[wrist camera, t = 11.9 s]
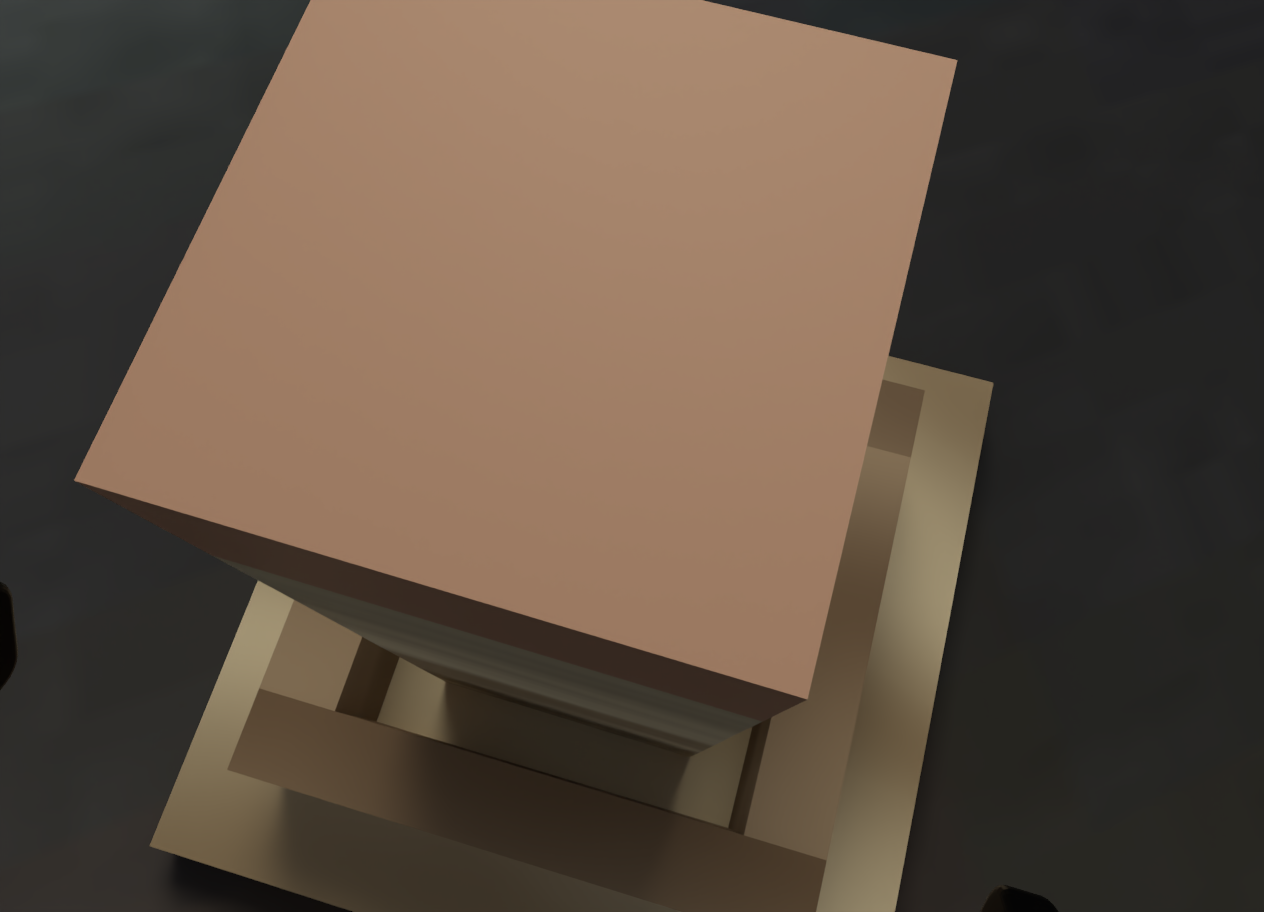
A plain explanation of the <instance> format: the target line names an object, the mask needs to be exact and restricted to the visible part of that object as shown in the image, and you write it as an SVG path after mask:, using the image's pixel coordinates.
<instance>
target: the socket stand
mask: <svg viewBox="0 0 1264 912" xmlns="http://www.w3.org/2000/svg"><path fill="white" fill-rule="evenodd" d="M992 387H993V383H992V382H988V381H984V380H980V379H976V378H972V377H968V376H965V375H961V374H957V373H953V372H949V371H945V370H941V369H937V368H933V367H929V366H925V365H922V364H918V363H914V362H910V361H906V360H902V359H898V358H894V357H890V356H888V358H887V363H886V367H885V371H884V375H883V380H882V384H881V388H880V392H879V397H878V401H877V405H876V409H875V414H874V418H873V422H872V427H871V431H870V435H869V439H868V444H867V448H866V452H865V456H864V461H863V465H862V469H861V473H860V478H859V482H858V486H857V491H856V495H855V499H854V503H853V508H852V512H851V516H850V520H849V525H848V529H847V533H846V537H845V542H844V546H843V550H842V555H841V559H840V563H839V567H838V572H837V576H836V580H835V584H834V589H833V593H832V597H831V601H830V606H829V610H828V614H827V619H826V623H825V627H824V631H823V636H822V640H821V644H820V648H819V653H818V657H817V661H816V665H815V670H814V674H813V678H812V683H811V687H810V691H809V695H808V699H807V700H805V701H803V702H801V703H799V704H797V705H795V706H793V707H791V708H789V709H787V710H785V711H783V712H781V713H779V714H777V715H775V716H773V717H771V718H769V719H767V720H765V721H763V722H761V723H759V724H757V725H755V726H753V727H750V728H748V729H746V730H744V731H742V732H740V733H738V734H736V735H734V736H732V737H730V738H728V739H726V740H724V741H722V742H720V743H718V744H716V745H714V746H712V747H710V748H708V749H706V750H704V751H702V752H700V753H698V754H696V755H693V756H691V757H688V756H685V755H682V754H679V753H675V752H672V751H669V750H666V749H662V748H659V747H656V746H653V745H649V744H646V743H643V742H640V741H636V740H633V739H630V738H626V737H623V736H620V735H617V734H613V733H610V732H607V731H604V730H600V729H597V728H594V727H591V726H587V725H584V724H581V723H578V722H574V721H571V720H568V719H565V718H561V717H558V716H555V715H552V714H548V713H545V712H542V711H539V710H535V709H532V708H529V707H526V706H522V705H519V704H516V703H513V702H509V701H506V700H503V699H500V698H496V697H493V696H490V695H487V694H483V693H480V692H477V691H474V690H470V689H467V688H464V687H461V686H457V685H454V684H451V683H448V682H445V681H443V680H441V679H439V678H437V677H435V676H434V675H432V674H430V673H428V672H426V671H424V670H423V669H421V668H419V667H417V666H415V665H413V664H411V663H410V662H408V661H406V660H404V659H402V658H400V657H399V656H397V655H395V654H393V653H391V652H389V651H388V650H386V649H384V648H382V647H380V646H378V645H376V644H375V643H373V642H371V641H369V640H367V639H365V638H364V637H362V636H360V635H358V634H356V633H354V632H352V631H351V630H349V629H347V628H345V627H343V626H341V625H340V624H338V623H336V622H334V621H332V620H330V619H328V618H327V617H325V616H323V615H321V614H319V613H317V612H316V611H314V610H312V609H310V608H308V607H306V606H305V605H303V604H301V603H299V602H297V601H295V600H293V599H292V598H290V597H288V596H286V595H284V594H282V593H281V592H279V591H277V590H275V589H273V588H271V587H269V586H268V585H266V584H264V583H262V582H260V581H258V582H257V585H256V587H255V589H254V592H253V594H252V597H251V599H250V602H249V604H248V607H247V609H246V611H245V614H244V616H243V619H242V621H241V624H240V626H239V629H238V631H237V633H236V636H235V638H234V641H233V643H232V646H231V648H230V651H229V653H228V655H227V658H226V660H225V663H224V665H223V668H222V670H221V673H220V675H219V677H218V680H217V682H216V685H215V687H214V690H213V692H212V695H211V697H210V699H209V702H208V704H207V707H206V709H205V712H204V714H203V717H202V719H201V721H200V724H199V726H198V729H197V731H196V734H195V736H194V739H193V741H192V743H191V746H190V748H189V751H188V753H187V756H186V758H185V761H184V763H183V765H182V768H181V770H180V773H179V775H178V778H177V780H176V783H175V785H174V787H173V790H172V792H171V795H170V797H169V800H168V802H167V805H166V807H165V810H164V812H163V814H162V817H161V819H160V822H159V824H158V827H157V829H156V832H155V834H154V836H153V839H152V841H151V844H150V846H151V847H154V848H157V849H160V850H163V851H166V852H169V853H173V854H176V855H179V856H182V857H185V858H188V859H191V860H194V861H197V862H201V863H204V864H207V865H210V866H213V867H216V868H219V869H222V870H225V871H229V872H232V873H235V874H238V875H241V876H244V877H247V878H250V879H253V880H256V881H260V882H263V883H266V884H269V885H272V886H275V887H278V888H281V889H284V890H288V891H291V892H294V893H297V894H300V895H303V896H306V897H309V898H312V899H315V900H319V901H322V902H325V903H328V904H331V905H334V906H337V907H340V908H343V909H347V910H350V911H353V912H895V908H896V903H897V897H898V892H899V887H900V881H901V876H902V870H903V865H904V860H905V854H906V849H907V844H908V838H909V833H910V828H911V822H912V817H913V811H914V806H915V801H916V795H917V790H918V785H919V779H920V774H921V768H922V763H923V758H924V752H925V747H926V742H927V736H928V731H929V726H930V720H931V715H932V709H933V704H934V699H935V693H936V688H937V683H938V677H939V672H940V666H941V661H942V656H943V650H944V645H945V640H946V634H947V629H948V624H949V618H950V613H951V607H952V602H953V597H954V591H955V586H956V581H957V575H958V570H959V564H960V559H961V554H962V548H963V543H964V538H965V532H966V527H967V522H968V516H969V511H970V505H971V500H972V495H973V489H974V484H975V479H976V473H977V468H978V462H979V457H980V452H981V446H982V441H983V436H984V430H985V425H986V420H987V414H988V409H989V403H990V398H991V393H992Z"/></svg>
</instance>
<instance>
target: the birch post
mask: <svg viewBox="0 0 1264 912" xmlns="http://www.w3.org/2000/svg"><path fill="white" fill-rule="evenodd" d="M956 64H957V60H954V59H950V58H945V57H941V56H937V55H933V54H928V53H924V52H920V51H916V50H911V49H907V48H903V47H899V46H894V45H890V44H886V43H882V42H877V41H873V40H869V39H865V38H860V37H856V36H852V35H847V34H843V33H839V32H835V31H830V30H826V29H822V28H818V27H813V26H809V25H805V24H801V23H796V22H792V21H788V20H784V19H779V18H775V17H771V16H767V15H762V14H758V13H754V12H750V11H745V10H741V9H737V8H733V7H728V6H724V5H720V4H716V3H711V2H707V1H703V0H311V1H310V3H309V5H308V7H307V9H306V11H305V13H304V15H303V17H302V19H301V21H300V23H299V25H298V27H297V29H296V31H295V33H294V35H293V37H292V39H291V41H290V43H289V46H288V48H287V50H286V52H285V54H284V56H283V58H282V60H281V62H280V64H279V66H278V68H277V70H276V72H275V74H274V76H273V78H272V80H271V82H270V84H269V86H268V88H267V90H266V92H265V94H264V96H263V98H262V100H261V102H260V104H259V106H258V108H257V110H256V113H255V115H254V117H253V119H252V121H251V123H250V125H249V127H248V129H247V131H246V133H245V135H244V137H243V139H242V141H241V143H240V145H239V147H238V149H237V151H236V153H235V155H234V157H233V159H232V161H231V163H230V165H229V167H228V169H227V171H226V173H225V175H224V177H223V179H222V182H221V184H220V186H219V188H218V190H217V192H216V194H215V196H214V198H213V200H212V202H211V204H210V206H209V208H208V210H207V212H206V214H205V216H204V218H203V220H202V222H201V224H200V226H199V228H198V230H197V232H196V234H195V236H194V238H193V240H192V242H191V244H190V246H189V248H188V251H187V253H186V255H185V257H184V259H183V261H182V263H181V265H180V267H179V269H178V271H177V273H176V275H175V277H174V279H173V281H172V283H171V285H170V287H169V289H168V291H167V293H166V295H165V297H164V299H163V301H162V303H161V305H160V307H159V309H158V311H157V313H156V315H155V317H154V320H153V322H152V324H151V326H150V328H149V330H148V332H147V334H146V336H145V338H144V340H143V342H142V344H141V346H140V348H139V350H138V352H137V354H136V356H135V358H134V360H133V362H132V364H131V366H130V368H129V370H128V372H127V374H126V376H125V378H124V380H123V382H122V384H121V387H120V389H119V391H118V393H117V395H116V397H115V399H114V401H113V403H112V405H111V407H110V409H109V411H108V413H107V415H106V417H105V419H104V421H103V423H102V425H101V427H100V429H99V431H98V433H97V435H96V437H95V439H94V441H93V443H92V445H91V447H90V449H89V451H88V453H87V456H86V458H85V460H84V462H83V464H82V466H81V468H80V470H79V472H78V474H77V476H76V478H75V480H74V481H76V482H78V483H80V484H81V485H83V486H85V487H87V488H89V489H91V490H92V491H94V492H96V493H98V494H100V495H102V496H103V497H105V498H107V499H109V500H111V501H113V502H115V503H116V504H118V505H120V506H122V507H124V508H126V509H127V510H129V511H131V512H133V513H135V514H137V515H139V516H140V517H142V518H144V519H146V520H148V521H150V522H151V523H153V524H155V525H157V526H159V527H161V528H163V529H164V530H166V531H168V532H170V533H172V534H174V535H175V536H177V537H179V538H181V539H183V540H185V541H186V542H188V543H190V544H192V545H194V546H196V547H198V548H199V549H201V550H203V551H205V552H207V553H209V554H210V555H212V556H214V557H216V558H218V559H220V560H222V561H223V562H225V563H227V564H229V565H231V566H233V567H234V568H236V569H238V570H240V571H242V572H244V573H246V574H247V575H249V576H251V577H253V578H255V579H257V580H258V581H260V582H262V583H264V584H266V585H268V586H269V587H271V588H273V589H275V590H277V591H279V592H281V593H282V594H284V595H286V596H288V597H290V598H292V599H293V600H295V601H297V602H299V603H301V604H303V605H305V606H306V607H308V608H310V609H312V610H314V611H316V612H317V613H319V614H321V615H323V616H325V617H327V618H328V619H330V620H332V621H334V622H336V623H338V624H340V625H341V626H343V627H345V628H347V629H349V630H351V631H352V632H354V633H356V634H358V635H360V636H362V637H364V638H365V639H367V640H369V641H371V642H373V643H375V644H376V645H378V646H380V647H382V648H384V649H386V650H388V651H389V652H391V653H393V654H395V655H397V656H399V657H400V658H402V659H404V660H406V661H408V662H410V663H411V664H413V665H415V666H417V667H419V668H421V669H423V670H424V671H426V672H428V673H430V674H432V675H434V676H435V677H437V678H439V679H441V680H443V681H445V682H448V683H451V684H454V685H457V686H461V687H464V688H467V689H470V690H474V691H477V692H480V693H483V694H487V695H490V696H493V697H496V698H500V699H503V700H506V701H509V702H513V703H516V704H519V705H522V706H526V707H529V708H532V709H535V710H539V711H542V712H545V713H548V714H552V715H555V716H558V717H561V718H565V719H568V720H571V721H574V722H578V723H581V724H584V725H587V726H591V727H594V728H597V729H600V730H604V731H607V732H610V733H613V734H617V735H620V736H623V737H626V738H630V739H633V740H636V741H640V742H643V743H646V744H649V745H653V746H656V747H659V748H662V749H666V750H669V751H672V752H675V753H679V754H682V755H685V756H688V757H691V756H693V755H696V754H698V753H700V752H702V751H704V750H706V749H708V748H710V747H712V746H714V745H716V744H718V743H720V742H722V741H724V740H726V739H728V738H730V737H732V736H734V735H736V734H738V733H740V732H742V731H744V730H746V729H748V728H750V727H753V726H755V725H757V724H759V723H761V722H763V721H765V720H767V719H769V718H771V717H773V716H775V715H777V714H779V713H781V712H783V711H785V710H787V709H789V708H791V707H793V706H795V705H797V704H799V703H801V702H803V701H805V700H807V699H808V695H809V691H810V687H811V683H812V678H813V674H814V670H815V665H816V661H817V657H818V653H819V648H820V644H821V640H822V636H823V631H824V627H825V623H826V619H827V614H828V610H829V606H830V601H831V597H832V593H833V589H834V584H835V580H836V576H837V572H838V567H839V563H840V559H841V555H842V550H843V546H844V542H845V537H846V533H847V529H848V525H849V520H850V516H851V512H852V508H853V503H854V499H855V495H856V491H857V486H858V482H859V478H860V473H861V469H862V465H863V461H864V456H865V452H866V448H867V444H868V439H869V435H870V431H871V427H872V422H873V418H874V414H875V409H876V405H877V401H878V397H879V392H880V388H881V384H882V380H883V375H884V371H885V367H886V363H887V358H888V354H889V350H890V345H891V341H892V337H893V333H894V328H895V324H896V320H897V316H898V311H899V307H900V303H901V299H902V294H903V290H904V286H905V281H906V277H907V273H908V269H909V264H910V260H911V256H912V252H913V247H914V243H915V239H916V235H917V230H918V226H919V222H920V217H921V213H922V209H923V205H924V200H925V196H926V192H927V188H928V183H929V179H930V175H931V170H932V166H933V162H934V158H935V153H936V149H937V145H938V141H939V136H940V132H941V128H942V124H943V119H944V115H945V111H946V106H947V102H948V98H949V94H950V89H951V85H952V81H953V77H954V72H955V68H956Z"/></svg>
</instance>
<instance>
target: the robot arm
mask: <svg viewBox="0 0 1264 912" xmlns="http://www.w3.org/2000/svg"><path fill="white" fill-rule="evenodd" d="M17 657H18V647H17V638H16V628H15V618H14V608H13V599H12V594H11V592H10V590H9V589H8V587H7V586H6V585H5V584H3V583H2V582H0V690H1V689H2V687H3V686H4V685H5V684H6V682H7V681H8V679H9V678H10V676H11V674H12V672H13V670H14V668H15V665H16V662H17ZM980 912H1058V910H1057V909H1056V908H1055V906H1054V905H1053V904H1052V903H1051V902H1050V901H1049V900H1048V899H1046V898H1044V897H1042V896H1040V895H1037V894H1033V893H1030V892H1027V891H1024V890H1020V889H1017V888H1014V887H1010V886H1007V885H1000V886H997V887H996V888H994V889H993V890H992V891H991V893H990V894H989V896H988V898H987V899H986V901H985V903H984V905H983V907H982V909H981V911H980Z"/></svg>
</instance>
